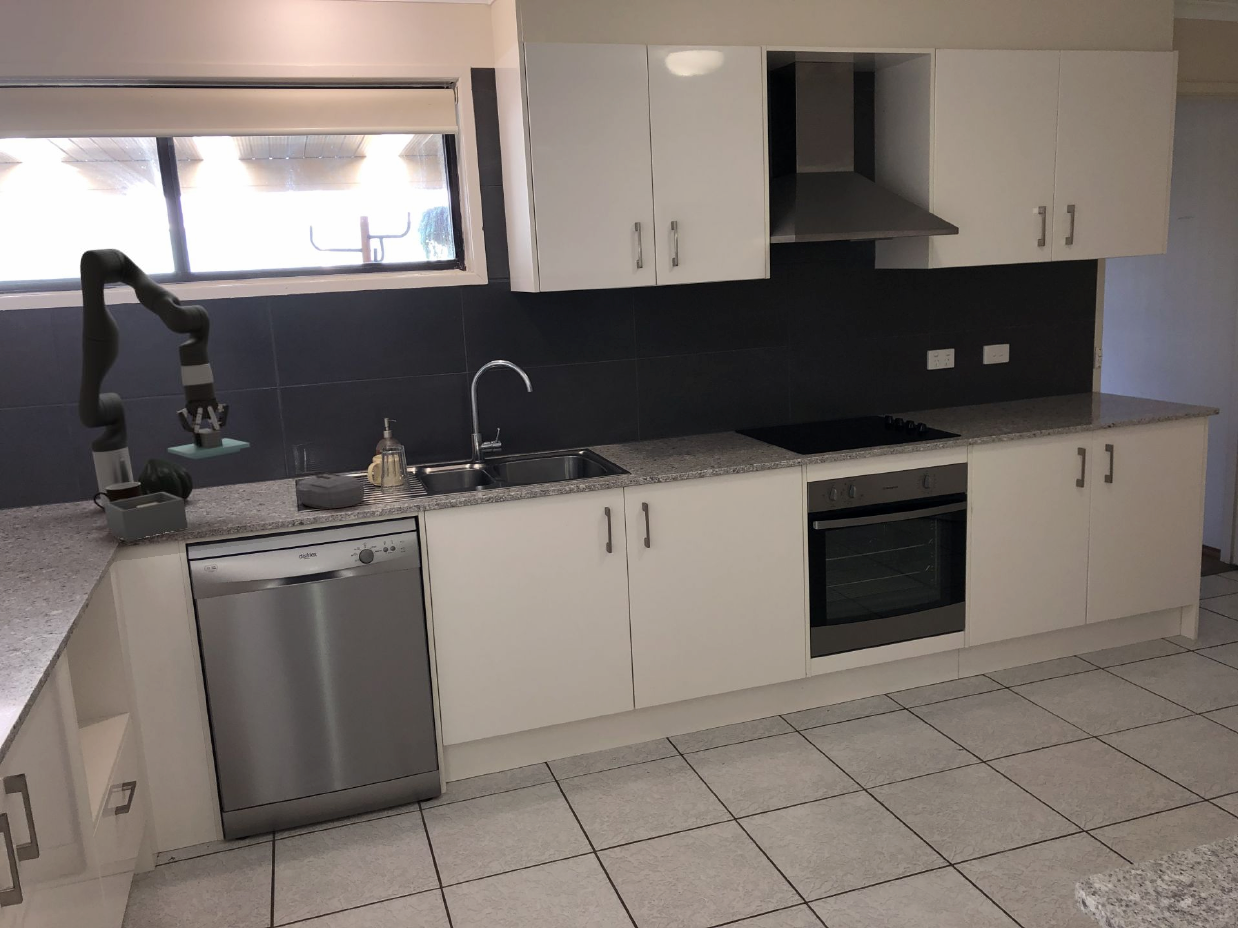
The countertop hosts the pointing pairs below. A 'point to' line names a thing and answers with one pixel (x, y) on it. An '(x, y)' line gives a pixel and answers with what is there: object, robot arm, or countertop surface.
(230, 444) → the lid
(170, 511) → the storage box
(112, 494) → the coffee mug
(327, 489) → the soft grey pack
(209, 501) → the countertop surface
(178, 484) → the squash
